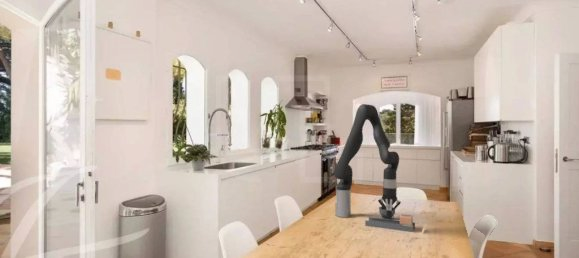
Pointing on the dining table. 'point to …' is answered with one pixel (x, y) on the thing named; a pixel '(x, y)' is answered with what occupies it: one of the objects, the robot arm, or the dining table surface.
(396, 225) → the chute
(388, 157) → the robot arm
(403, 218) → the terracotta block
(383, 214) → the mortar and pestle
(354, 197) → the dining table surface
